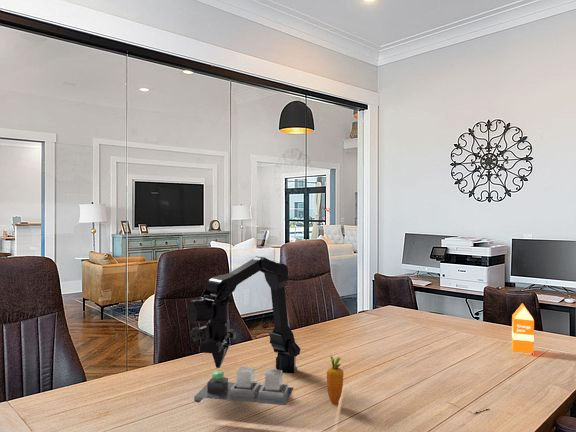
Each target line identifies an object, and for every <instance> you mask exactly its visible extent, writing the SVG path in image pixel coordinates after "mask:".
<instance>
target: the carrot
mask: <svg viewBox="0 0 576 432" xmlns="http://www.w3.org/2000/svg"><path fill="white" fill-rule="evenodd" d="M330 360H331V366H332V367H329V368H328V369H327V371H326V387H327V395H328V397H329V400H330V402H331V404H334V405H337V404H338V403H339V401H340V398H341V396H342V392H343V386H344V370H343V369H342V368H340V366H342V365H341V363H339V362H340V361H341V357H339V356H337V357H336V360H335V358H334V357H333V355H330Z"/></svg>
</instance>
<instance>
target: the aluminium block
mask: <svg viewBox="0 0 576 432" xmlns="http://www.w3.org/2000/svg"><path fill="white" fill-rule="evenodd" d="M236 381H237V389H246V390H253V388H254V382H255V367H245V366H240V367H239V368H238V369H237V370H236Z"/></svg>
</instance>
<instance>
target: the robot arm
mask: <svg viewBox="0 0 576 432" xmlns="http://www.w3.org/2000/svg"><path fill="white" fill-rule="evenodd" d="M259 272H261V273H262V274H264V279H265V282H266V283H267V285H268V286H269V288H270V295H271V303H272V305H271V306H272V314H273V315H272V316H273V326H274V327H273V329H272V331H270V332H269V333H268V335H269V344H271V347H272V349H273V352H274V353H277V356H276V358H275V370H282V374H295V373H296V370H297V366H296V365H297V364H296V363H297V357H298V355H300V353H301V350H302V349H301V347H300V346H299V345H298V344H297V342H296V341H295V336H294V335H295V334H294V333H293V331H292V329H291V328H290V326H289V321H288V320H289V319H288V309H287V307H288V306H287V299H286V285H287V283H288V280H289V268H288V265H286V264H285V263H283V262H276V261H274V260H271V259H268V258H267V257H264V256H254V257H253V258H252V259H250V260H248V261H247V262H245V263H244V264H242V265H240V266H238V267H237V268H235V269H233V270H232V271H230V272H228V273H224V274H220V275H219V274H218V275H216V276H214V277H211V278H210V279H208V281H207V283H206V287H205V289H204V290H203V292H202V293H201V295H200V297H199V299H191V300H190V304H189V305H187V308H186V313H185V314H186V315H185V316H186V319H187V321H188V322H189V323H190V324H197V323H203V322H207V323H206V325H203V326H200V327H198V326H196V327H194V328H192V329H191V331H190V337H189V338H191V339H193V342H197V341H198V340H201V339H205V340H204V341H202V342H201V343H200V344H199V345H198V352H199V353H204V354H211V355H212V358H213V362H214V364H215V368H216V369H220V368H221V366H222V364H223V362H224V360H225V357H226V355H227V352H228V350H229V348H230V346H231V343H230V342H227V339H229V338H231V340H233V341H234V340H236V339H237V331H236V330H235V329H233V328H229V325H230V324H231V323H230V322H231V320H230V319H229V304H233V303H234V302H235V301H234V299H233V298H231V297H230V295H231V294H232V293H234V292H235V291H236V288H237V286H239V285H240V284H241V283H243V282H244V281H246V280H248V279H249V278H250V277H253V276H254V275H256V274H257V273H259Z"/></svg>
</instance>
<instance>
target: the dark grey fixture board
mask: <svg viewBox="0 0 576 432" xmlns="http://www.w3.org/2000/svg"><path fill="white" fill-rule="evenodd" d="M293 390H294V387H292V386H289V384H283V383H282V392H269V391H265V382H264V383H263V384H261V381H254V388H253V390H246V389H237V380H236V381H235V382H230V381H229V378H228V377H224V378H223V379H220V380H214V379H212V377H211V378H210V379H209V380H207V383H206V384H205V386H203V387H202V389H200V390H199V392H197V393H196V395H194V397H193V401H195V402H201V401H202V400H203V399H211V400H212V399H214V400H222V401H223V400H224V401H226V400H227V401H233V402H234V401H235V402H245V403H247V402H248V403H256V404H257V403H258V404H267V405H277V406H278V405H280V406H286V405H287V402H288V400H289V398H290V396H291V395H292V393H293Z"/></svg>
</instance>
